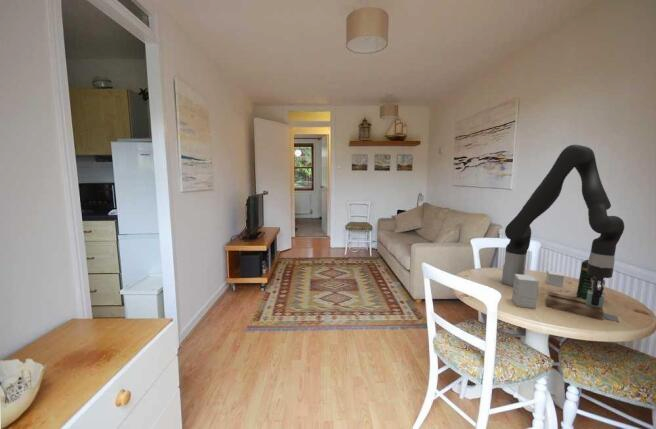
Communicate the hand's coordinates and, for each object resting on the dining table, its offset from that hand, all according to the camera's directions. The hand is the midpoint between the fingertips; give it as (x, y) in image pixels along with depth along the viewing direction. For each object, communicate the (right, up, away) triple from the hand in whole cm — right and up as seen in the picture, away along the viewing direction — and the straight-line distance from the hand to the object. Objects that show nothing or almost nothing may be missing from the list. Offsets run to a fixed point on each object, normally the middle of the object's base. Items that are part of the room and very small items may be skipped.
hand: (594, 303), depth 118 cm
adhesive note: (+9, 0, +33) cm, 34 cm away
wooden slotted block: (-5, -4, +5) cm, 8 cm away
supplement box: (-24, -3, +9) cm, 26 cm away
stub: (0, -4, +1) cm, 4 cm away
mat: (+4, -5, -3) cm, 7 cm away
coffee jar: (+12, -2, +15) cm, 20 cm away
